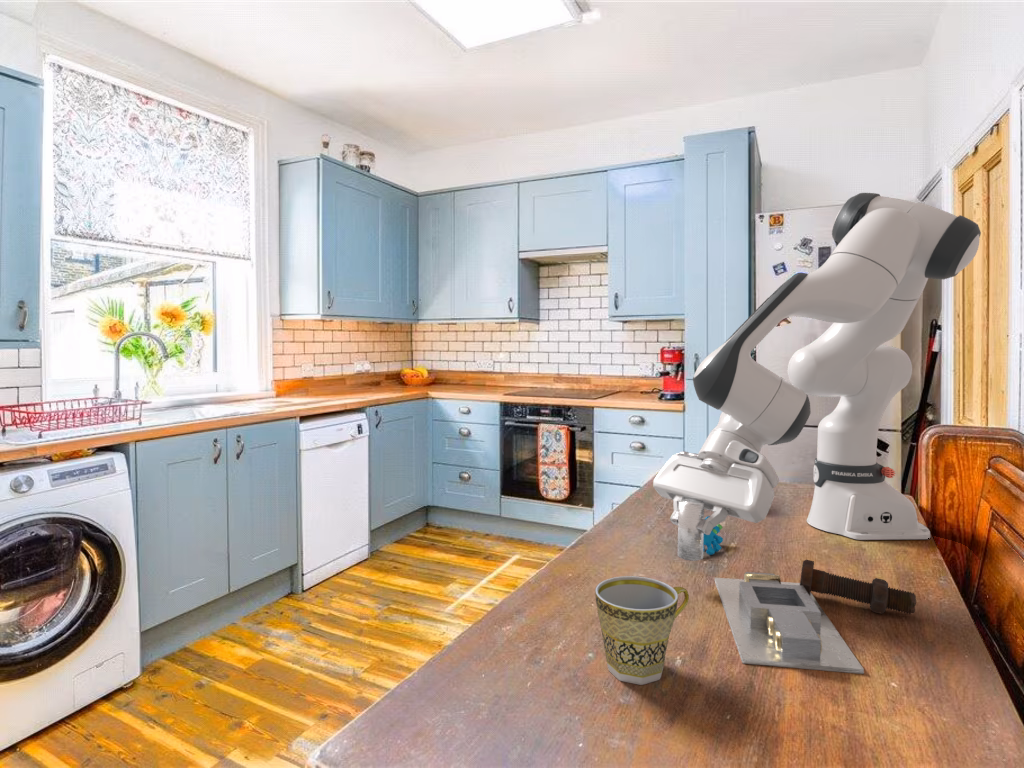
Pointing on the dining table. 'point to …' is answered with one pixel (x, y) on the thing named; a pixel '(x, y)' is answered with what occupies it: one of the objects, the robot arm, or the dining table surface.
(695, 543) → the silver upright cylinder
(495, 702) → the dining table surface
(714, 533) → the gear
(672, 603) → the ceramic cup
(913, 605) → the bolt
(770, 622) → the gray metal plate
